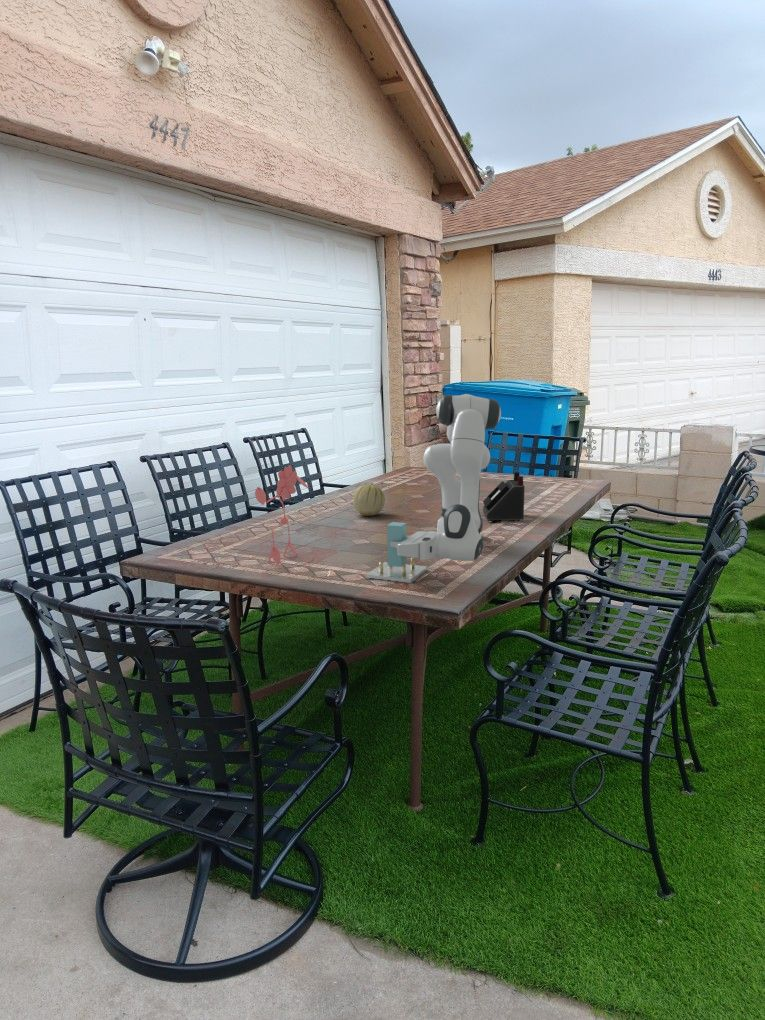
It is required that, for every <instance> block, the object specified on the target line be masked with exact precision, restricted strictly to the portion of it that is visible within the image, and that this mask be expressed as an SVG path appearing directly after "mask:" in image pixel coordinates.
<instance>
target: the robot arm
mask: <svg viewBox="0 0 765 1020" xmlns="http://www.w3.org/2000/svg"><path fill="white" fill-rule="evenodd" d="M501 410H502V409H501V406H500V403H499V402H498V401H497V400H495V399H493V398H485V397H480V396H475V395H472V394H468V393H465V394H461V395H452V394H445V395H442V396H441V397H440V398H439V400H438V402H437V404H436V407H435V414H436V417H437V421H438V422H439V423H440V424H441V425H443V426H447V427H446V428H447V429H446V437H447V439H448V441H449V442H450V443H437V444H434V445H430V446H427V448H425V451H424V453H423V459H422V460H423V464H424V467H426V470H428V471H429V472H431V473H432V474H433V475H434V476H435V478H436V479H437V480H438V483H439V484H440V488H441V489H440V490H441V499H442V503H441V507H440V516H441V517H440V518H439V519H437V524H436V525H437V526H436V531H432V530H429V531H421V530H418V531H416V532H414V533H413V534H411V535H407V539H405V540H403V541H402V542H397V541H391V542H390V546H391V547H396V548H397V554H398V555H400V556H405V557H407V558H415V559H420V561H428V560H432V559H433V560H434V559H438V560H444V559H445V560H446V559H449V560H452V561H460V562H472V561H476V560H477V559H478V558H479V557H480V556H481V554H482V551H483V547H484V539H483V538H481V537H483V532H482V530H483V527H484V521H483V518H482V516H481V512H480V490H481V489H480V488H481V487H480V486H481V471H482V470H485V469H486V468H487V467H488V466H489V463H490V461H491V453H490V449H489V448H488V447H487V446H486V445H485V440H486V439H485V438H486V431H485V430H492V429H495V428H496V427H497V426H498V423H499V422H500V420H501V417H502V411H501ZM456 473H457V474H458V476H459V478H457V475H456Z"/></svg>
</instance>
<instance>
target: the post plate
mask: <svg viewBox="0 0 765 1020" xmlns="http://www.w3.org/2000/svg"><path fill="white" fill-rule="evenodd" d="M410 558H411V557H410ZM415 559H416V558H411V559H410V564H408V563H406V564H405V565H402V567H395V566H388V561H384V562H382V561H380V562H379V565H378V566H376V567H374V569H372V570H371V571H369V572H368V573H366V574H365V578H366V579H370V578H374V579H373V580H378V579H383V580H382V581H387V580H391V581H390V582H396V581H398V583H404V582H405V584H412V583H413V582H415V581H416V580H417V579H418V578H419V577H421V576H422V575H423V574H424V573H426V572H427V571H428V566H427V565H417V564H415ZM426 570H427V571H426Z"/></svg>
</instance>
